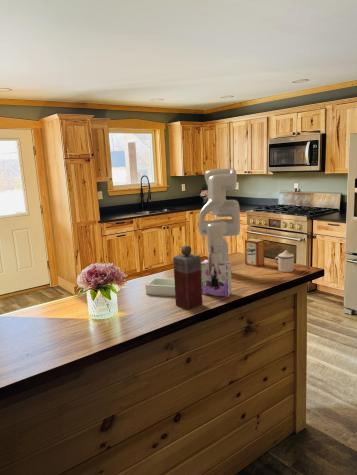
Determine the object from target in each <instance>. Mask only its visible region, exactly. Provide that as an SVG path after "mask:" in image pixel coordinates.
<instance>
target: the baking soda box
mask: <svg viewBox="0 0 357 475" xmlns="http://www.w3.org/2000/svg"><path fill="white" fill-rule="evenodd" d="M244 255H245V256H244V257H245V259H244V260H245V262H244V264H246V265H247V266H250V265H251V267H256V268H259V267H262V266H265V240H264V239H259V238H253V237H252V238H248V239H245V240H244Z"/></svg>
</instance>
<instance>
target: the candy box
mask: <svg viewBox="0 0 357 475" xmlns="http://www.w3.org/2000/svg"><path fill="white" fill-rule="evenodd" d="M214 272H216V271H214ZM214 275H216V274H214ZM217 279H218V287H212V286H211V272H210V273H209V272H208V259H204V260H203V261H201V280H202V295H208V296H215V297H223V298H228V297H230V296H231V295H232V294H233V293H232V262H231V261H228V262H224V261H221V262H220V263H219V272H218V273H217Z"/></svg>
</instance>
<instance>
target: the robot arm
mask: <svg viewBox="0 0 357 475" xmlns="http://www.w3.org/2000/svg"><path fill="white" fill-rule="evenodd" d="M237 175H238V174H237V171H236V169H235V168H213V169H208V170H206V171H205V173H204V180H205V182H206V185H207V202H206V203H205V204H204V205H203V207H201V209H200V212H199V214H198V221H197V222H198V223H197V224H198V226H197V227H198V228H197V229H198V233H199V235H201V236H205V237H206V243H207V253H208V259H207V260H208V272H209V273H210V272H211V286H212V287H218V279H217V273H218V272H219V263H220V262H221V261H224V262H229V243H228V241H227V240H226V239H225V237H233V236H235V237H237V236H239V235H240V233H241V216H240V215H241V212H240V211H241V210H240V204H239V201H238V200H237V199H227V198H226V197H227V194H226V193H227V192H226V191H234V190H235V189H236V187H237V182H238V181H237V179H238V176H237ZM209 213H211V216H213V217H215V218H216V219H213V220H205V217H206V216H207V215H208V214H209ZM223 217H224V218H223ZM228 217H230V218H228ZM217 218H219V219H217ZM226 218H227V219H226ZM214 271H216V272H214ZM214 274H216V275H214Z"/></svg>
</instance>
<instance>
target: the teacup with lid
mask: <svg viewBox="0 0 357 475" xmlns="http://www.w3.org/2000/svg"><path fill="white" fill-rule="evenodd" d="M294 260H295V255H294V254H293V253H290V252H289V251H288V250H284V251H283V252H282V253H279V254H278V255H277V256H275V258H274V263H275V265H276V266H277V268H278V269H277V270H278V271H279V272H282V273H292V272H293V271H294V270H295V266H294V265H295V263H294V262H295V261H294Z"/></svg>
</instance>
